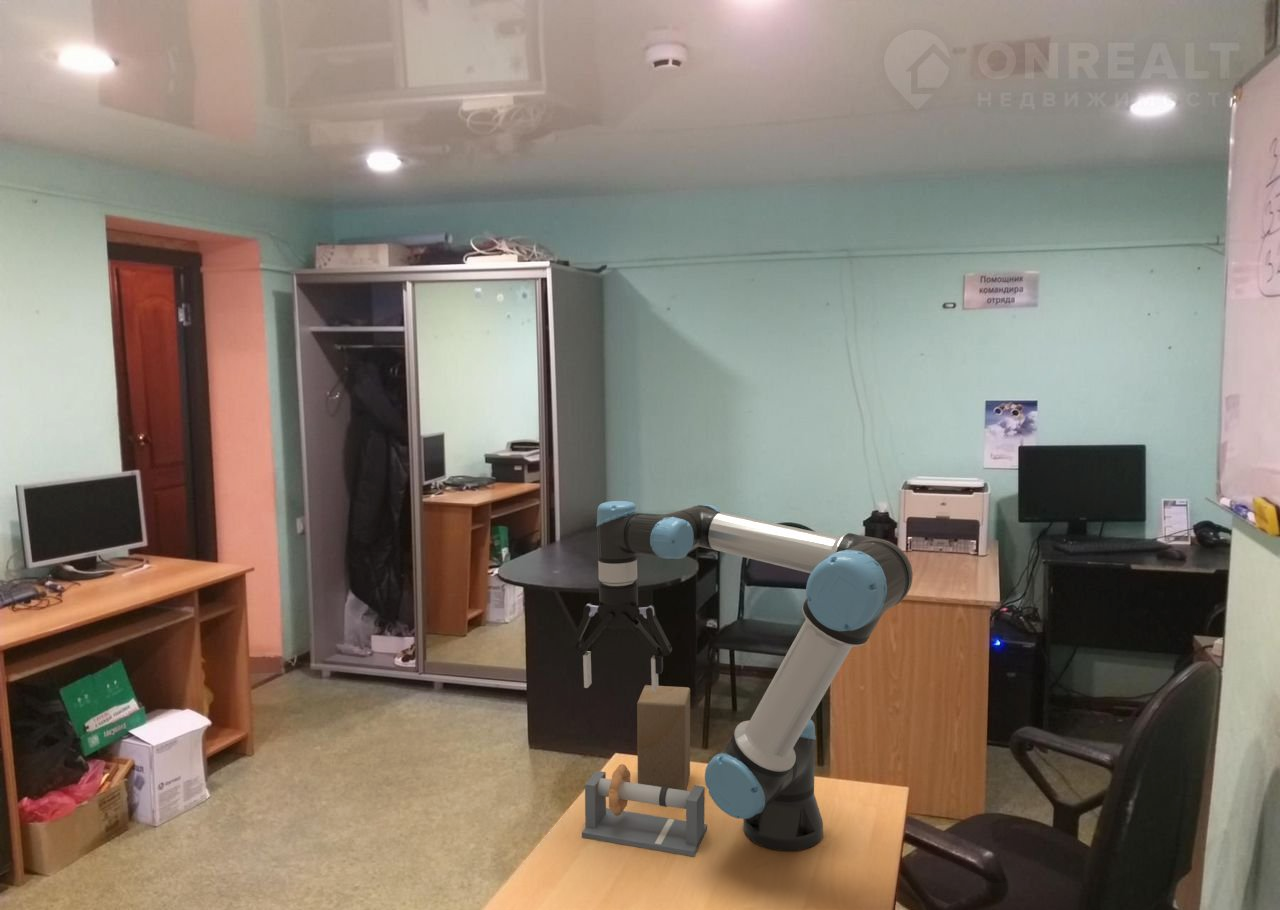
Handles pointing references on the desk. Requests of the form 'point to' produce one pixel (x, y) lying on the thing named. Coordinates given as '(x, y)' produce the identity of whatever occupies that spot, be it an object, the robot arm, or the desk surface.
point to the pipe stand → (645, 817)
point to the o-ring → (617, 777)
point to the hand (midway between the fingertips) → (621, 687)
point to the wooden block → (664, 737)
